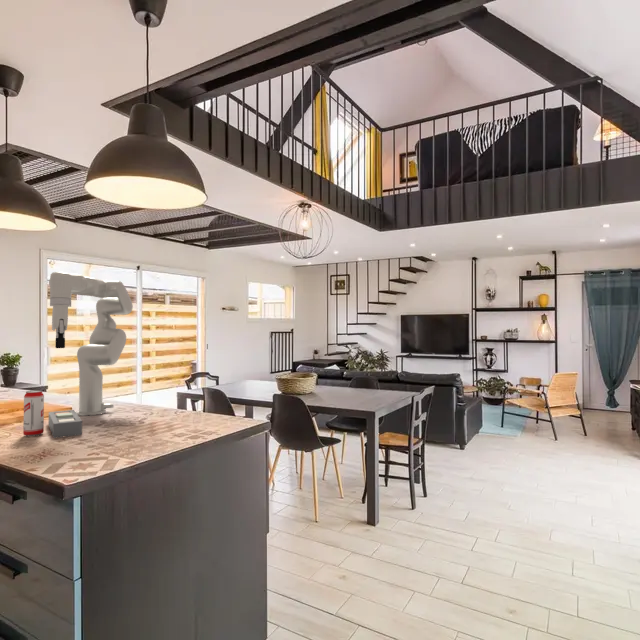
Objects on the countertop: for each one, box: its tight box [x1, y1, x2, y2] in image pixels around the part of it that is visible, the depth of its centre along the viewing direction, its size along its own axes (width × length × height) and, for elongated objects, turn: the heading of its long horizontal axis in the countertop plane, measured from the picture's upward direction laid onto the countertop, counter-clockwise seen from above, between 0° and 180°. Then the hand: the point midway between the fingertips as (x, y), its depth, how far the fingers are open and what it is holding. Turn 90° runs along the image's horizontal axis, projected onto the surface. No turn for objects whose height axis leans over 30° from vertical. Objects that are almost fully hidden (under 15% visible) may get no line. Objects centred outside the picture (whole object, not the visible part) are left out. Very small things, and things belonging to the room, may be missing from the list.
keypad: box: [48, 409, 83, 439], centre depth 174 cm, size 9×27×5 cm, turn 34°
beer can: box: [22, 389, 45, 437], centre depth 164 cm, size 6×6×16 cm
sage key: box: [57, 413, 73, 418], centre depth 174 cm, size 5×5×3 cm
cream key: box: [58, 418, 74, 422], centre depth 167 cm, size 5×5×3 cm
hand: (60, 347), depth 182 cm, fingers closed
